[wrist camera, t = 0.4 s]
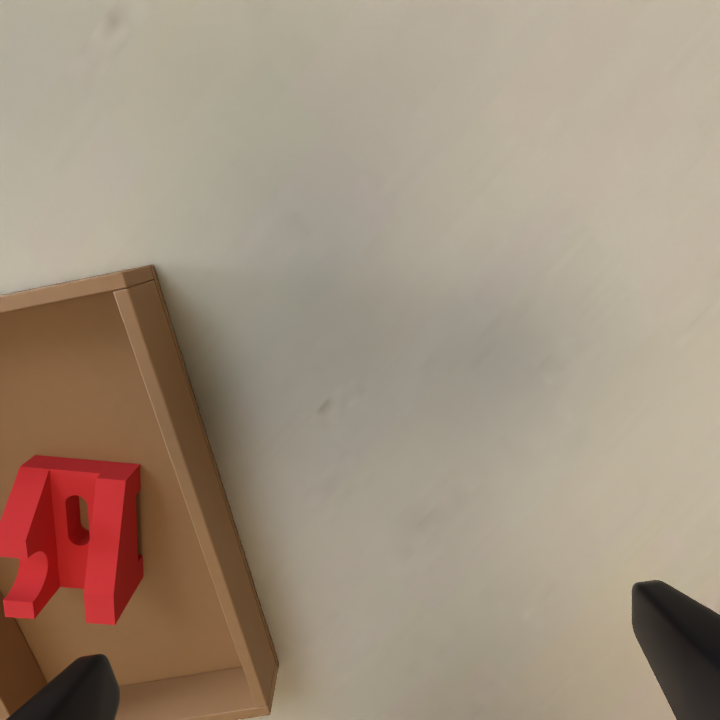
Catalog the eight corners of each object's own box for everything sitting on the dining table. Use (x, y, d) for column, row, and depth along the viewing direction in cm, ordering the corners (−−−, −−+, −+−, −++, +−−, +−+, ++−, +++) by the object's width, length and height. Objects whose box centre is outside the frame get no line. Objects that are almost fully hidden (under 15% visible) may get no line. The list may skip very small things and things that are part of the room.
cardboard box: (279, 664, 27) (270, 715, 24) (51, 700, 27) (18, 754, 24) (153, 264, 20) (122, 271, 18) (-140, 323, 21) (-213, 339, 18)
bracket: (143, 576, 24) (114, 625, 22) (46, 569, 24) (4, 616, 21) (140, 464, 23) (108, 500, 20) (35, 454, 22) (-12, 490, 19)
